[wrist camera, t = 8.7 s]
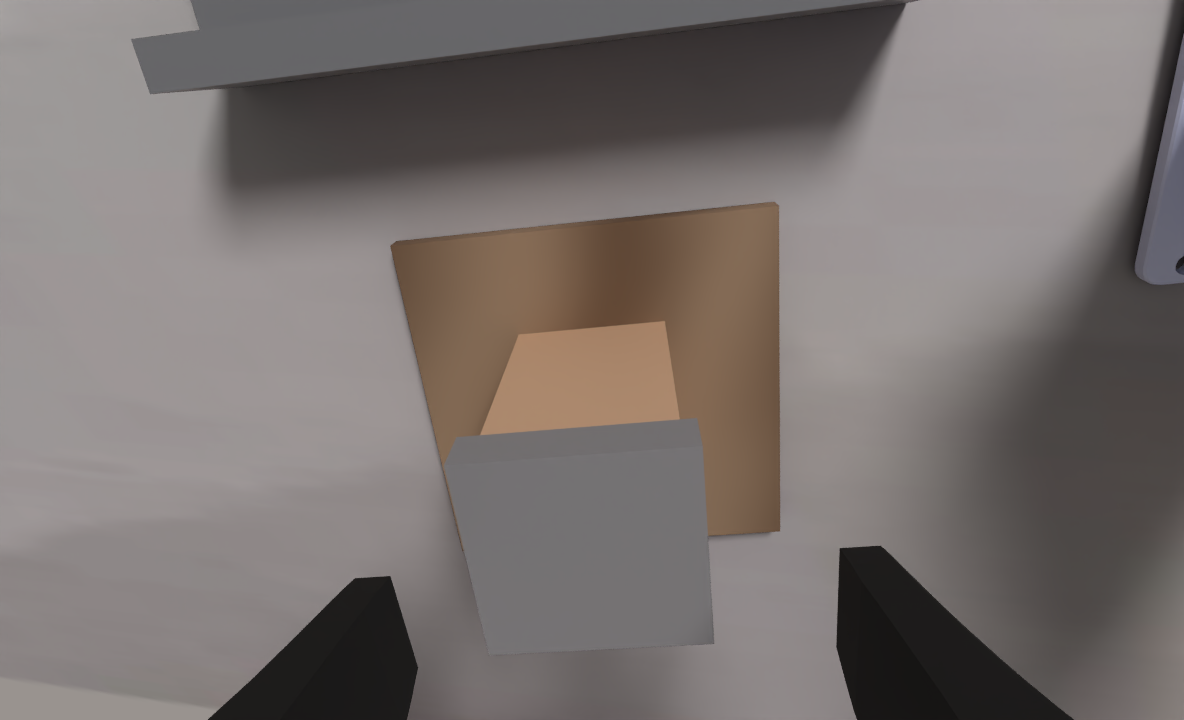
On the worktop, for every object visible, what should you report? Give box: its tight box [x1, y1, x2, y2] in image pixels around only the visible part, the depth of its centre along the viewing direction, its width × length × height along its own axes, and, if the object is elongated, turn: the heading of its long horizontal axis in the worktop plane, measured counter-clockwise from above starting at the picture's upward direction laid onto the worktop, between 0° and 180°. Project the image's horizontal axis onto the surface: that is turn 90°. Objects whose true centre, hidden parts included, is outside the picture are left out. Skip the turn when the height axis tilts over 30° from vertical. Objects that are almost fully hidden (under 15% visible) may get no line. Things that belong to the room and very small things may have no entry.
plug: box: [444, 321, 714, 655], centre depth 16 cm, size 5×5×7 cm
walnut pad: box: [391, 202, 780, 551], centre depth 20 cm, size 10×10×1 cm
